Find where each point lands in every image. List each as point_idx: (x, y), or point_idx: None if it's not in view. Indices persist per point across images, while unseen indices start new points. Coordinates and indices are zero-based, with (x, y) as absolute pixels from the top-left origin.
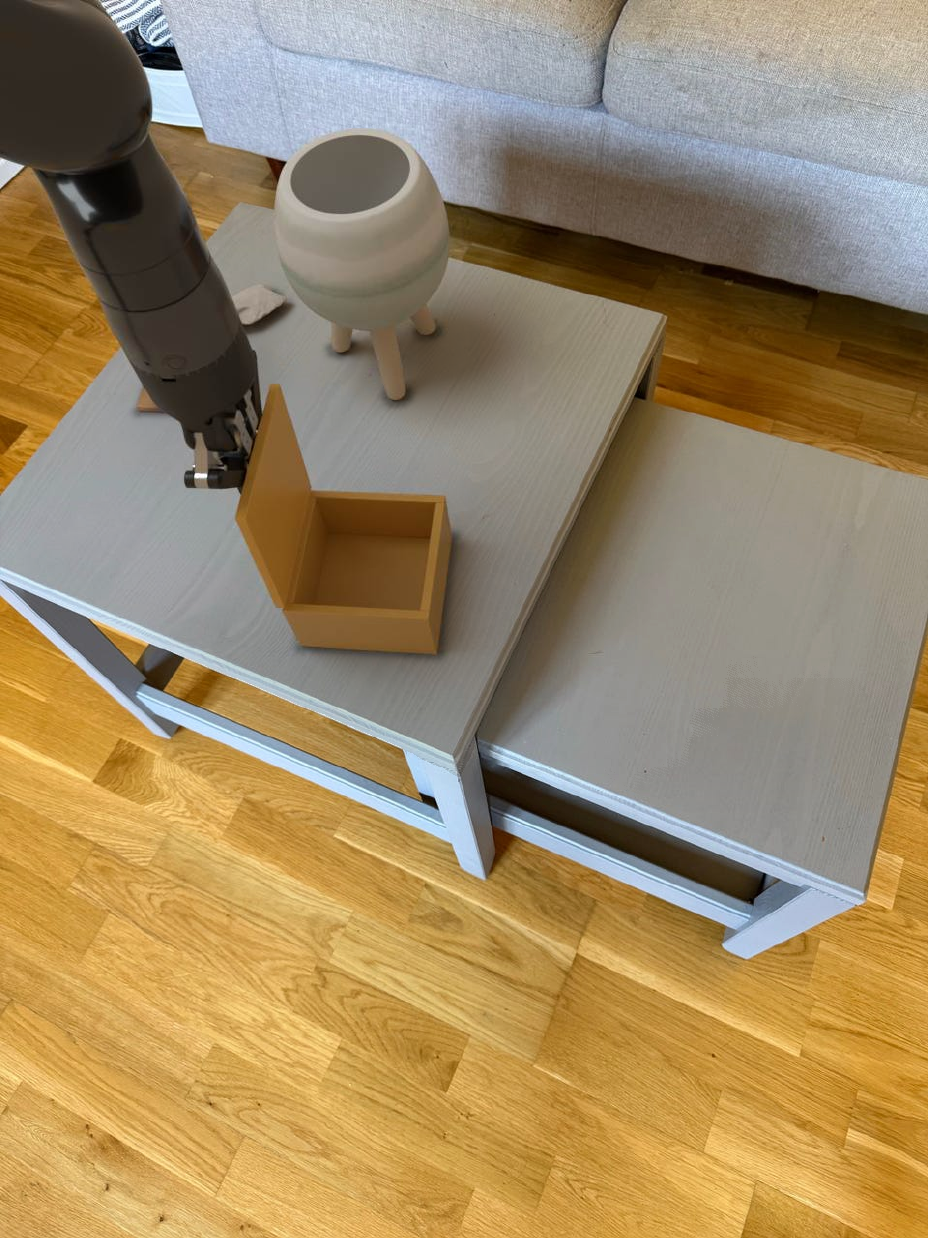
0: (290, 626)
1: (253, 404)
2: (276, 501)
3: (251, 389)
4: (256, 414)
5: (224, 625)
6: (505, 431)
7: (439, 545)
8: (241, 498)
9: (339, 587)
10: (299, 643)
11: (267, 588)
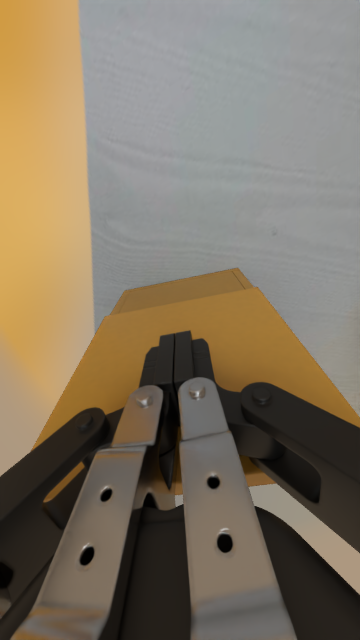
0: (116, 304)
1: (301, 498)
2: None
3: (348, 539)
4: (275, 480)
5: (116, 213)
6: (349, 369)
7: None
8: (49, 500)
9: None
10: (123, 292)
11: (92, 339)
